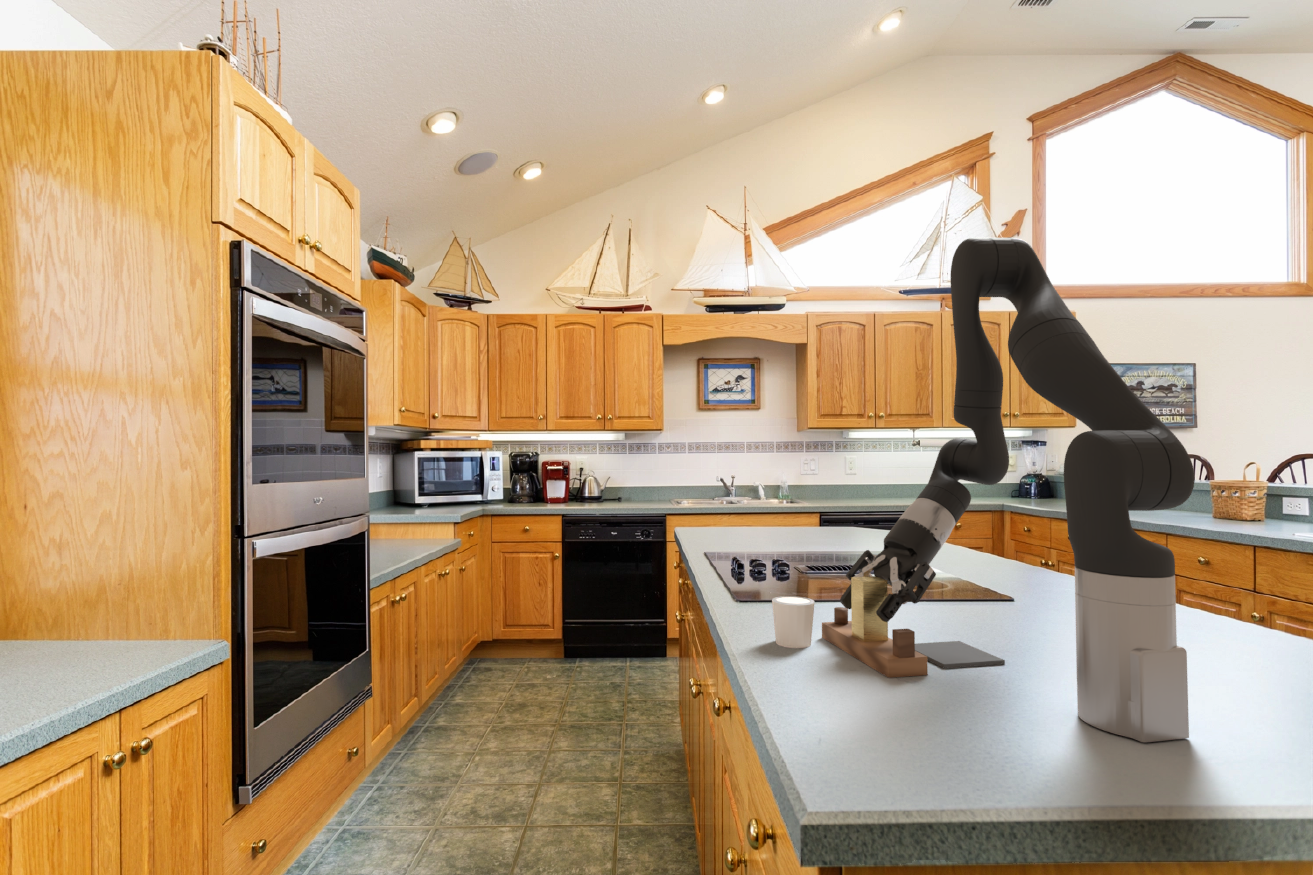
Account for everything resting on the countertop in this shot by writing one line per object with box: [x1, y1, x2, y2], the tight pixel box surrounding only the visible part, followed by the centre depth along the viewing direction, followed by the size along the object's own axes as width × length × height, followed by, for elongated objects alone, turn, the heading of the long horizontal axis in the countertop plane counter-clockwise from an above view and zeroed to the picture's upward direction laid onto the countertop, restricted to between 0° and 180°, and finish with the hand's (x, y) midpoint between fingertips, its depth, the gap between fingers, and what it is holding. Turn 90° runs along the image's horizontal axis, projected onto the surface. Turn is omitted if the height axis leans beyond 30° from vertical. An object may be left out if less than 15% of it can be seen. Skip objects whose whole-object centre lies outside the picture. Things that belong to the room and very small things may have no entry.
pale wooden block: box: [850, 575, 889, 642], centre depth 97 cm, size 4×4×9 cm
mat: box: [915, 640, 1006, 669], centre depth 96 cm, size 10×10×1 cm
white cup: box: [771, 595, 815, 649], centre depth 103 cm, size 7×7×7 cm
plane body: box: [821, 606, 929, 679], centre depth 97 cm, size 20×6×6 cm, turn 11°
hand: (862, 611), depth 97 cm, fingers open, 8 cm apart
